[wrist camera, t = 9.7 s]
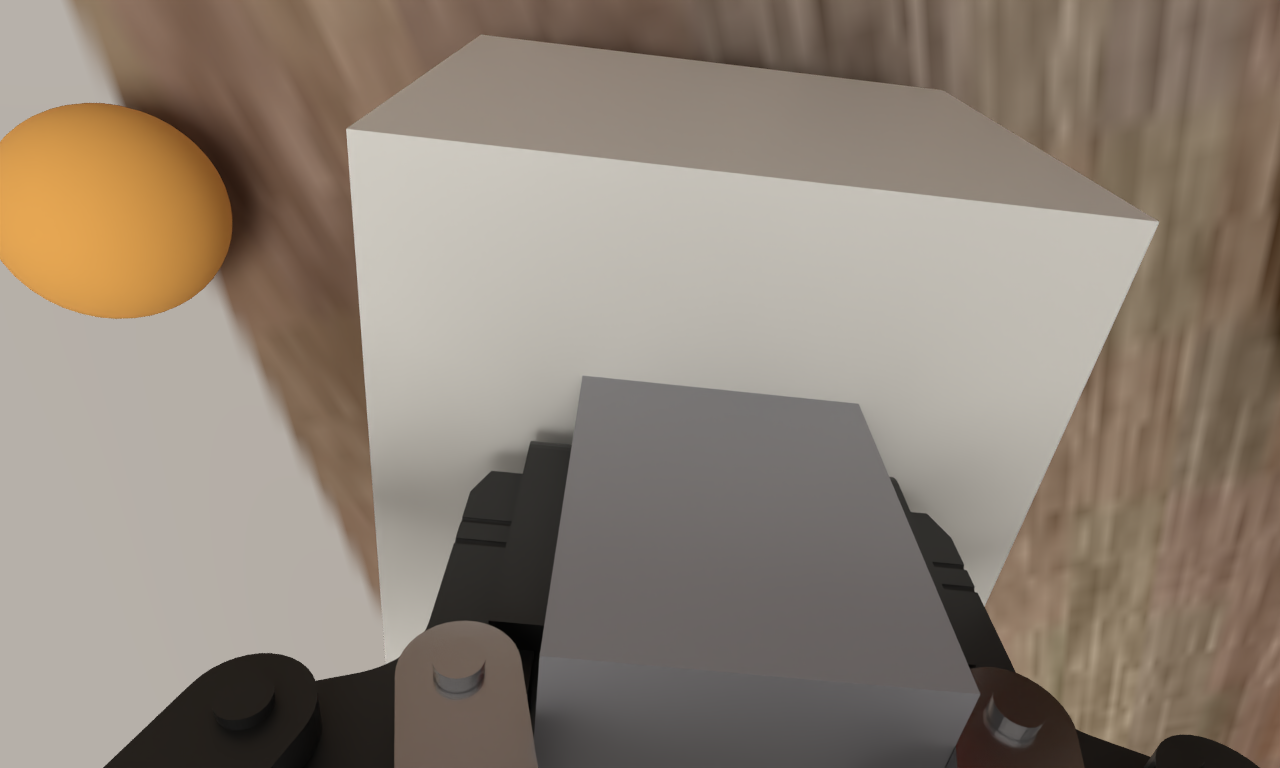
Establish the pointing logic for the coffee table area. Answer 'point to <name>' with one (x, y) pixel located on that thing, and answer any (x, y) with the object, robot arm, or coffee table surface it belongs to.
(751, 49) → the coffee table surface
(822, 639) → the stacked blocks
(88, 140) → the ball
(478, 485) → the robot arm
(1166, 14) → the coffee table surface
